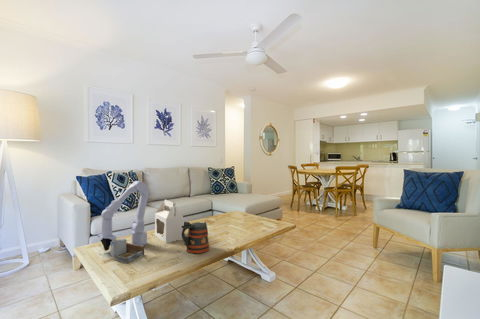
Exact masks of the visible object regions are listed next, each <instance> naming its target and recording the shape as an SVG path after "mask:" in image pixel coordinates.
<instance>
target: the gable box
mask: <svg viewBox="0 0 480 319" xmlns="http://www.w3.org/2000/svg"><path fill="white" fill-rule="evenodd" d="M180 211H181V210H179V208H178V207H177V206H176V202H174V201H173V200H169V199H164V201H163V203H161V204H160V206H159V208H158V209H157V210H156V212H155V214H154V236H155V237H156V236H157V237H156V238H158V239H159V240H161V241H162V242H163V241H164V242H163V243H165V244H169V243H173V242H172V241H174V242H177V241H176V240H178V241H181V240H180V239H182V230H183V228H182V226H184V215H183V214H182V212H180ZM163 233H164V237H163V236H162V235H161V234H163ZM182 240H183V239H182ZM168 242H169V243H168Z"/></svg>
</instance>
